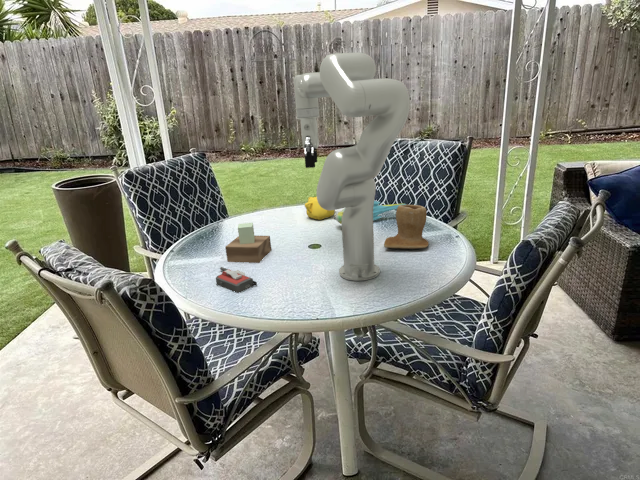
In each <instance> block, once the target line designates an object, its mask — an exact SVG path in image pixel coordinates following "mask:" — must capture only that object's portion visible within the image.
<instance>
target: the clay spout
mask: <svg viewBox="0 0 640 480" xmlns="http://www.w3.org/2000/svg"><path fill="white" fill-rule="evenodd" d="M427 213H428V211H427V208H426V207H424V206H423V205H419V204H417V205H416V204H406V205H399V206H398V208H397V209H396V211H395V220H396V225H397V234H396V235H395V236H388V237H387V238H386V239H384V243H383V248H385V249H388V248H389V249H408V250H409V249H425V248H428V247H429V245H430V244H429V241H428V240H427V239H426V238H424V237H423V231H424V229H425V225H426V222H427Z"/></svg>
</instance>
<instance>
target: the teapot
mask: <svg viewBox="0 0 640 480" xmlns="http://www.w3.org/2000/svg"><path fill="white" fill-rule="evenodd" d="M307 199H308V200H307V202H305V203H304V207H305V209H306V215H307V217H308V218H311V219H315V220H318V221H323V219H326V218H331V217H333V216H334V215H335V212H336V210H325V209H323V208H322V207H321V206H320V205H319V203H318V201H317V196H314V197H313V196H309V197H308V198H307Z"/></svg>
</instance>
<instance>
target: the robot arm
mask: <svg viewBox="0 0 640 480" xmlns="http://www.w3.org/2000/svg"><path fill="white" fill-rule="evenodd" d="M375 62H376V61H374V59H373V58H372V56H370V55H369V54H367V53H364V52H344V53H343V52H341V53H340V52H339V53H330V54H328V55H327V56H325V57H324V58H323V60H322V61H321V64H320V66H319V72H318V71H317V72H306V73H302V74H297V75H295V76H294V78H293V86H294V100H295V110H296V111H295V112H296V120H299V121H300V132H301V143H302V148H303V150H304V164H305V165H304V167H305V168H306V169H309V168H311V169H313V168H315V167H316V163H318V153H317V149H318V148H319V146H320V140H319V139H320V138H319V129H318V120H317V119H318V118H320V107H319V98H327V97H330V98H331V99H332V101H333V102H334V105H335V106H336V107H337V108H338V110H339V111H340V113H342V114H343V116H345V117H346V118H347V117H348V118H361V117H363V118H364V117H371V116H374V118H373V119H372V120H371V121H370V122H369V123H368V124H367V125H366V126H365V128H364V129H363V130H362V132H361V134H360V136H359V140H358V142H357V144H355V145H353V146H350V147H343V148H342V147H341V148H337V149H334V150H332V151H331V152H330V153H329V154H328V155H327V156H326V158H325V161H324V163H323V166H322V170H321V173H320V176H319V179H318V182H317V186H316V197H317V201H318V203H319V205H320V206H321V207H322V208H323V209H325V210H335V211H336V210H340V209H342V210H343V209H344V208H345V210H344V212H343V215H342V224H341V237H342V238H341V240H342V241H341V242H342V256H343V265H342V266H341V267H339V270H338V271H339V273H338V274H339V275H340V277H341V278H343V279H345V280H348V281H354V282H355V281H356V282H358V281H359V282H362V281H368V280H372V279H374V278H376V277H377V276H379V274H380V272H381V271H380V270H381V269H380V267H379V265H377V264H376V263H375V242H374V236H375V235H374V234H375V233H374V221H373V205H374V201H375V198H376V190H377V189H376V187H377V186H376V185H377V184H376V181H375V178H376V177H378V175H379V174H380V173H381V170H382V169H383V166H384V164H385V162H386V160H387V157H388V155H389V153H390V151H391V149H392V147H393V145H394V143H395V141H396V140H397V138H398V136H399V135H400V133H401V132H402V130H403V129H404V126H405V124H406V122H407V120H408V117H409V113H410V108H411V105H410V104H411V100H410V99H411V97H410V93H409V89H408V88H407V86H406V84H405V83H403V82H402V81H401V80H398V79H395V78H387V77H386V78H374V77H375V76H376V73H377V66H376V63H375Z"/></svg>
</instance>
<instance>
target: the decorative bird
mask: <svg viewBox="0 0 640 480" xmlns="http://www.w3.org/2000/svg"><path fill="white" fill-rule="evenodd" d="M380 203H381V201H378V200H374V205H373V222H374V221H376V220H379V219H381V218H382V217H383V216H382V215H381V214H383V213H386V212H390V211H394V210H397V208H398V206H399V205H407V204H406V203H405V202H404V203H393V204H380ZM344 210H345V208H342V210H340V211H339V212H337V214H336V215H335V216H334V218H333V219H334V221H336V222H337V223H339V225H340V224H341V225H342V215H343V212H344Z"/></svg>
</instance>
